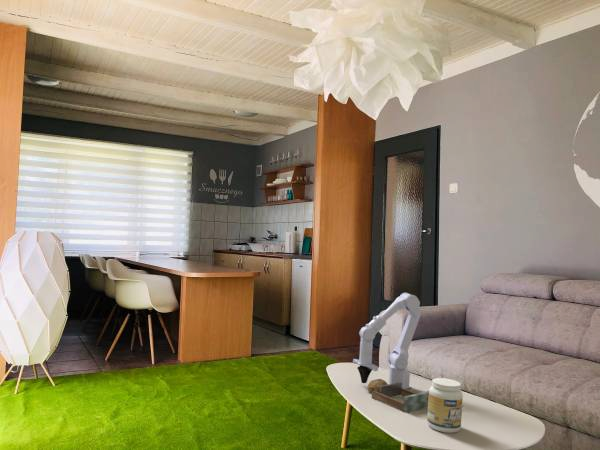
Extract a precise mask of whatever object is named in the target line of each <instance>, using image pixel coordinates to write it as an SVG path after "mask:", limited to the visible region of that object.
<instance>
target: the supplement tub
mask: <svg viewBox="0 0 600 450" xmlns="http://www.w3.org/2000/svg"><path fill="white" fill-rule="evenodd" d="M428 391H429V399H428V407H427V415H426V417H427V419H426V422H427V425H428V426H429V427H430V428H431V429H433V430H436V431H438V432H442V433H446V434H447V433H448V434H455V433H458V432H459V431H460V430H461V429H462V428H461V427H462V413H463V412H462V411H463V398H464V396H463V395H464V394H463V393H462V386H461V383H460V382H459V381H457V380H454V379H451V378H450V379H449V378H444V377H437V378H433V379H432V380H431V386H430V387H429V390H428Z"/></svg>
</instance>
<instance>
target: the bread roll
mask: <svg viewBox="0 0 600 450" xmlns="http://www.w3.org/2000/svg"><path fill="white" fill-rule="evenodd" d="M388 384H389V383H388V381H386V380H384V379H381V378H376V379H373V380H371V381H369V383H368V385H367V391H368V393H369V394H370V395H371V396H372V391H376V392H378V393H380V386H383V385H388Z"/></svg>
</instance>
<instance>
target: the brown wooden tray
mask: <svg viewBox="0 0 600 450" xmlns="http://www.w3.org/2000/svg"><path fill="white" fill-rule="evenodd" d="M400 396H402V397H403V401H400V400H398V399H396V398H394V397H388V396H386V395H383V394H381V393H378V392H376V391H372V395H371V399H372V400H375V401H378V402H380V403H382V404H385V405H387V406H389V407H392V408H394V409H396V410H399V411H401V412H404V413H409V412H414V411H415V412H416V411H418V410H422V409H426V408H427V409H428V399H429V390H428V391H422V392H418V393H417V392H415V391H413V390H409V389H408V388H407V389H404V388H402V392H401V395H400Z"/></svg>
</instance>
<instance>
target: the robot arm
mask: <svg viewBox="0 0 600 450" xmlns="http://www.w3.org/2000/svg"><path fill="white" fill-rule="evenodd" d="M420 305H421V302H420V300H419V298H418V297H417V295H414V294H410V293H408V292H403V293H401V294H400V296H398V297H396V298H395V300H394V301H393V302H392V303H391V304H390V305H389V306H388V307H387V309H385V311H384V312H382V314H380V315H374V316H373V317H372V320H370V322H369V323H366V324H365V326H363V327H361V329H360V330H359V332H358V334H359V337H360V342H359V359H358V358H353V359H352V364H355V365H358V367H357V370H358V372H359V376H360V380H361V383H362V384H367V383H368V379H369V377H370V375H371V372H377V371H379V366H378V365H375V364H374V363H372V362H373V361H372V360H373V344H374V343H373V341H374V339H376V338H375V337H376V334H378V333H379V332H380V331H381V330H382V329H383V328H384V327H385V326H386V325H387V320H388V319H390V318H391V317H393V315H394V314H396V313H397V312H398V311H401V310H405V311H406V313H407V318H406V321H405V323H404V326H403V328H402V332H401V334H400V337H399V338H398V343H397V345H396V346H395V347H394V348H393V350H392V351H391V353H389V355H388V361H389V363H390V366H389V377H388V384H394V383H399V382H402V388H404V389H407V390H408V389H411V388H412V387H411V386H410V379H411V378H410V377H411V372H410V370H409V369H408V368H407V367H408V366H409V348H410V346H411V343H412V340H413V337H414V335H415V331H416V330H417V327H418V324H419V321H420V318H421V307H420Z"/></svg>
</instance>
